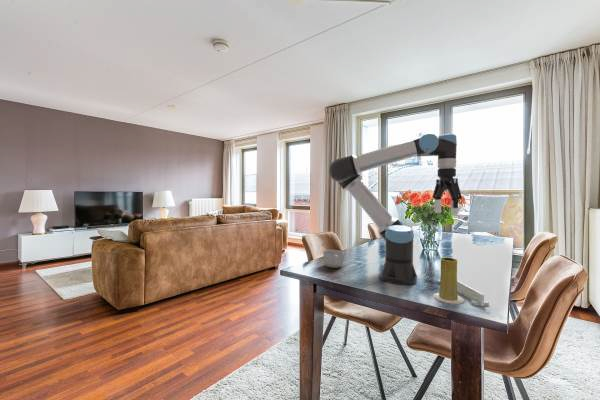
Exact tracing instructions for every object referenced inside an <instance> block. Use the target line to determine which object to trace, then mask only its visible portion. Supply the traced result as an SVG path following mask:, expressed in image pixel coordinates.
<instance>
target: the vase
mask: <svg viewBox="0 0 600 400" xmlns="http://www.w3.org/2000/svg"><path fill="white" fill-rule="evenodd" d="M439 280H440V283H439V292H438V293H439V296H440V297H441V298H443V299H445V300H457V299H458V296H459V295H458V292H457V280H458V259H456V258H454V257H447V256H445V257H441V258H440V279H439Z"/></svg>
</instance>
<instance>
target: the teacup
mask: <svg viewBox="0 0 600 400" xmlns="http://www.w3.org/2000/svg"><path fill="white" fill-rule="evenodd" d="M344 259H345V252H344V251H342V250H337V249H324V250H323V264H324V265H325V266H326V267H328V268H333V269H334V268H335V269H336V268H340V267H341V266H343V264H344Z"/></svg>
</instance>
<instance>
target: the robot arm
mask: <svg viewBox="0 0 600 400" xmlns="http://www.w3.org/2000/svg"><path fill="white" fill-rule="evenodd" d="M457 147H458V144H457V135H456V134H454V133H446V134H445V133H444V134H440V135H439V136H437V135H436V134H434V133H430V132H428V133H425V134H423V135H421V136H419V137H416V138H414V139H413V138H412V139H408V140H405V141H403V142H399V143H396V144H393V145H388V146H386V147H382V148H379V149H376V150H372V151H369V152H366V153H362V154H360V155H354V154H352V155H348V156H344V157H339V158H336V159H335V160H333V161H332V162H331V163H330V165H329V167H328V173H329V176H330V178H331V179H332V180H333V181H335V182H337V184H338V185H339V186H340V187H341V189H343V191H348V193H350V194H351V196H352V197H353V199H354V200H356V202H357V203H358V205H359V206H360V207H361V208H362V209H363V211H364V212H365V213H366V214H367V216H368V217H369V218H370V219H371V221H372V222H373V223H374V224H375V226H376V227H377V228H378V231H377V232H378V234H379V235H380V237H382V239H383V240H384V241H385V242H384V243H385V245H384V246H385V253H384V257H385V258H384V263H383V266H382V269H381V272H380V279H381V280H383V281H385V282H387V283H391V284H394V285H403V286H404V285H405V286H409V285H414V284H416V283H417V282H418V276H417V271H416V269H415V266H414V237H415V234H414V229H413V228H411V227H410V226H406V225H404V224H403V223H402V222H401V221H400V219H398V218H397V217H393V216H392V215H391V214H390V213H389V211H388V210H387V209H386V207H384V205H383V204H382V203H381V202H380V201H379V199H378V198H377V196H376V195H375V194H374V193H373V192H372V190H371V189H370V188H369V187H368V186H367V185H366V183H365V182H364V181H363V180H362V179H363V175H362V172H366V171H369V170H372V169H375V168H379V167H383V166H387V165H390V164H393V163H394V164H395V163H397V162H400V161H403V160H407V159H410V158H414V157H416V158H417V157H418V158H419V157H433V156H434V157H437V168H438V169H437V177H438V178H439V179H438V178H437V179H436V180H435V186H434V190H433V193H432V194H433V195H432V199H434V201H435V203H434V205H435V206H434V213H435V214H442V202H443V201H442V196H443V195H444V192H445V191H446V190H447V191H448V193H449V195H450V197H451V199H450V216H458V215H459V201H460V200H462V199H463V196H462V193H461V190H460V185H459V179H458V178H456V175H457V169H456V167H457Z"/></svg>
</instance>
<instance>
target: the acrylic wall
mask: <svg viewBox="0 0 600 400" xmlns="http://www.w3.org/2000/svg"><path fill="white" fill-rule="evenodd" d="M436 283H438V284H440V279H436ZM457 293H460V294H461V295H462V296H464V297H466V298H467V299H469V300H470V304H471V305H473V306H477V307H478V306H481V307H485V306H486V307H489V306H490V303H489V302H488V301H487V300H485V294H484V293H482V292H481V291H478V290H476V289H475V288H472V287H470V286H469V285H467V284H465V283H463V282H462V281H460V280H458V279H457Z"/></svg>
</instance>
